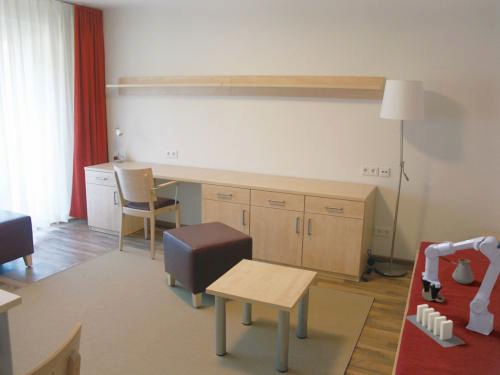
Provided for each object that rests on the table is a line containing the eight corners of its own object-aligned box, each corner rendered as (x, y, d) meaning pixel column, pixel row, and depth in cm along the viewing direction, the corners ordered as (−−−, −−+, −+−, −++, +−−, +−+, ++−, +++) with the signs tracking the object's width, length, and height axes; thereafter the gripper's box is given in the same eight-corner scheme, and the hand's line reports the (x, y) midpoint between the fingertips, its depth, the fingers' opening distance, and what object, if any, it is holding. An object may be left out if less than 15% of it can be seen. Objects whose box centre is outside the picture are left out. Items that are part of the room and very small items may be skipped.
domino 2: (421, 325, 204) (422, 309, 202) (430, 323, 205) (432, 307, 203) (424, 326, 202) (425, 311, 201) (433, 324, 203) (434, 309, 202)
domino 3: (427, 329, 200) (428, 313, 198) (436, 327, 201) (437, 311, 200) (429, 330, 198) (430, 315, 197) (438, 329, 200) (440, 313, 198)
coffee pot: (472, 278, 254) (474, 254, 251) (475, 286, 243) (477, 261, 240) (432, 274, 260) (434, 251, 257) (434, 282, 250) (436, 258, 247)
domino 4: (433, 333, 196) (434, 317, 194) (442, 331, 197) (443, 315, 196) (435, 335, 195) (436, 319, 193) (445, 333, 196) (446, 317, 194)
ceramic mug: (420, 299, 229) (421, 286, 228) (424, 294, 236) (425, 280, 234) (441, 305, 223) (443, 291, 222) (445, 299, 230) (446, 285, 228)
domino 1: (416, 320, 207) (417, 305, 206) (425, 319, 209) (426, 304, 207) (418, 322, 206) (419, 307, 204) (427, 320, 207) (428, 305, 206)
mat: (404, 317, 212) (404, 316, 212) (423, 313, 215) (423, 313, 214) (444, 348, 185) (444, 347, 185) (465, 343, 188) (465, 343, 188)
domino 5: (439, 338, 192) (440, 321, 191) (448, 336, 194) (450, 320, 192) (442, 340, 191) (443, 323, 189) (451, 338, 192) (452, 321, 191)
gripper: (417, 264, 216) (415, 289, 219) (430, 275, 202) (429, 302, 205) (430, 263, 217) (429, 288, 219) (445, 274, 203) (443, 301, 205)
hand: (430, 295), depth 212 cm, fingers open, 7 cm apart
